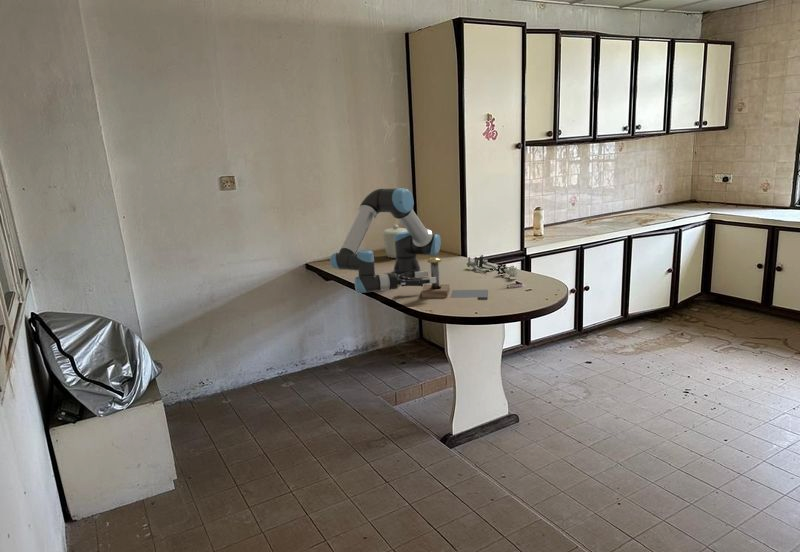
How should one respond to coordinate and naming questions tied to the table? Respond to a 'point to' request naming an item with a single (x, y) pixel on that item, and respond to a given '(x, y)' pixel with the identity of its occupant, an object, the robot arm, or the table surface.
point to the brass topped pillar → (435, 270)
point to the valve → (508, 270)
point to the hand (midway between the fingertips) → (432, 276)
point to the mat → (470, 294)
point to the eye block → (435, 291)
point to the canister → (391, 239)
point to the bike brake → (480, 264)
